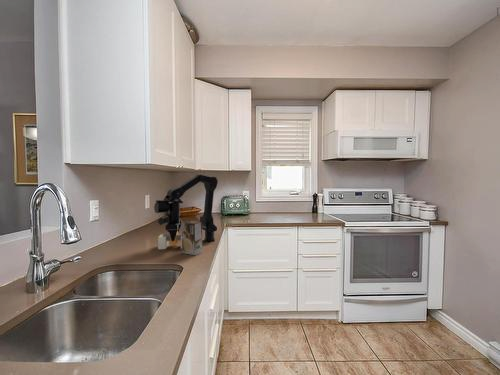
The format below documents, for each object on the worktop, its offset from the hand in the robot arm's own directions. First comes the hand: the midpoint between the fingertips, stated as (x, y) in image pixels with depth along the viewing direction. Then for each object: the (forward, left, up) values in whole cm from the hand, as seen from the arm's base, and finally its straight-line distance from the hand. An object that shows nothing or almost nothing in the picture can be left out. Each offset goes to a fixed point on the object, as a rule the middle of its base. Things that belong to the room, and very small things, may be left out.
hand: (174, 239), depth 144 cm
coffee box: (+12, +11, -5) cm, 17 cm away
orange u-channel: (0, 0, -3) cm, 3 cm away
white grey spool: (0, 0, -4) cm, 4 cm away
